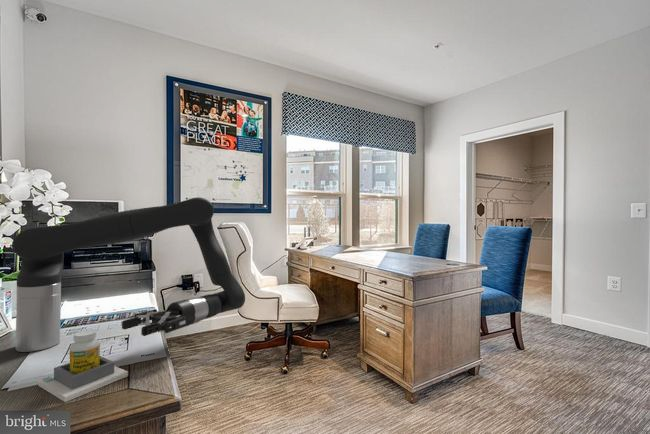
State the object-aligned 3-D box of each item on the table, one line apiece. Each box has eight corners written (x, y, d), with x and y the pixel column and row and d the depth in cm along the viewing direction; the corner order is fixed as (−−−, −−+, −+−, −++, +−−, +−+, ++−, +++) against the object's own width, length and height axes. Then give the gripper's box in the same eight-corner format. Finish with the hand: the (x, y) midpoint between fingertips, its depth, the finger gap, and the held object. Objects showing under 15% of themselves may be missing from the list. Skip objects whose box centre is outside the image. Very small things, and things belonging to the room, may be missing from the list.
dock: (38, 385, 68) (38, 369, 68) (100, 363, 79) (100, 349, 79) (65, 402, 62) (65, 384, 62) (127, 376, 73) (128, 360, 73)
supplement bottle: (99, 367, 75) (100, 326, 74) (99, 377, 70) (100, 333, 70) (70, 373, 71) (71, 331, 71) (68, 384, 67) (68, 338, 67)
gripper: (172, 296, 97) (116, 309, 83) (205, 302, 90) (149, 318, 76) (172, 320, 97) (116, 337, 83) (204, 329, 90) (149, 349, 76)
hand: (132, 328), depth 80 cm, fingers open, 8 cm apart
